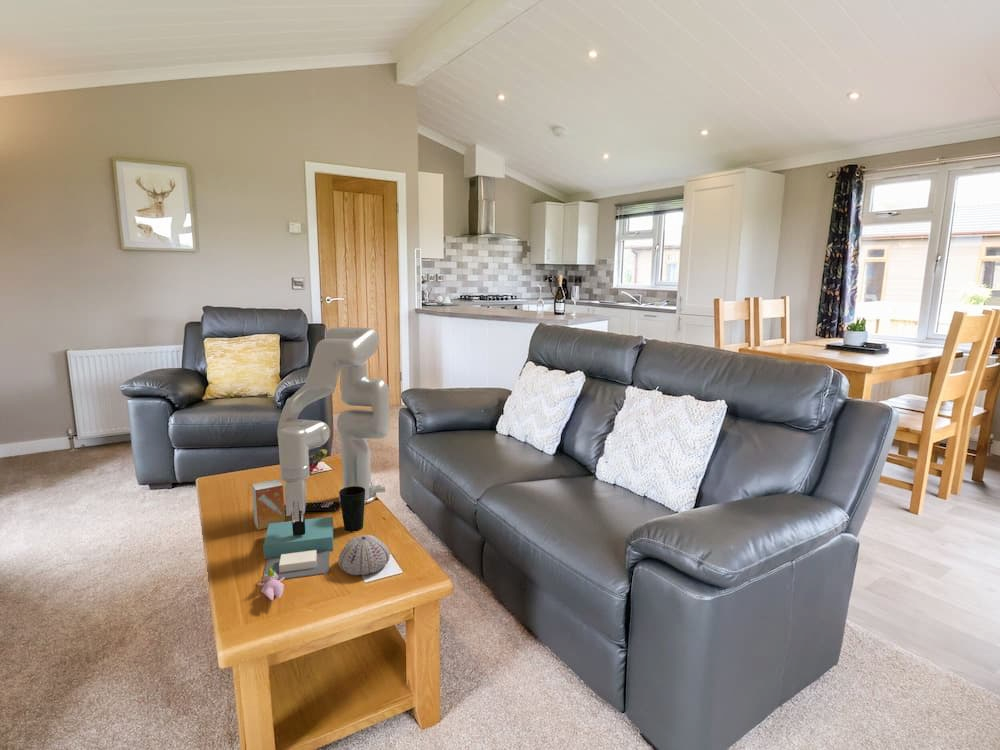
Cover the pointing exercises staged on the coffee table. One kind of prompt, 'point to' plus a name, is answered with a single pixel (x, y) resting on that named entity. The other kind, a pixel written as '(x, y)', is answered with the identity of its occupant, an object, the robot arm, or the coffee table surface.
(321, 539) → the plate
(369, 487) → the robot arm
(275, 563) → the mat
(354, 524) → the cup
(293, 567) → the off-white foam block
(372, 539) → the sea urchin shell
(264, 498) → the small box
